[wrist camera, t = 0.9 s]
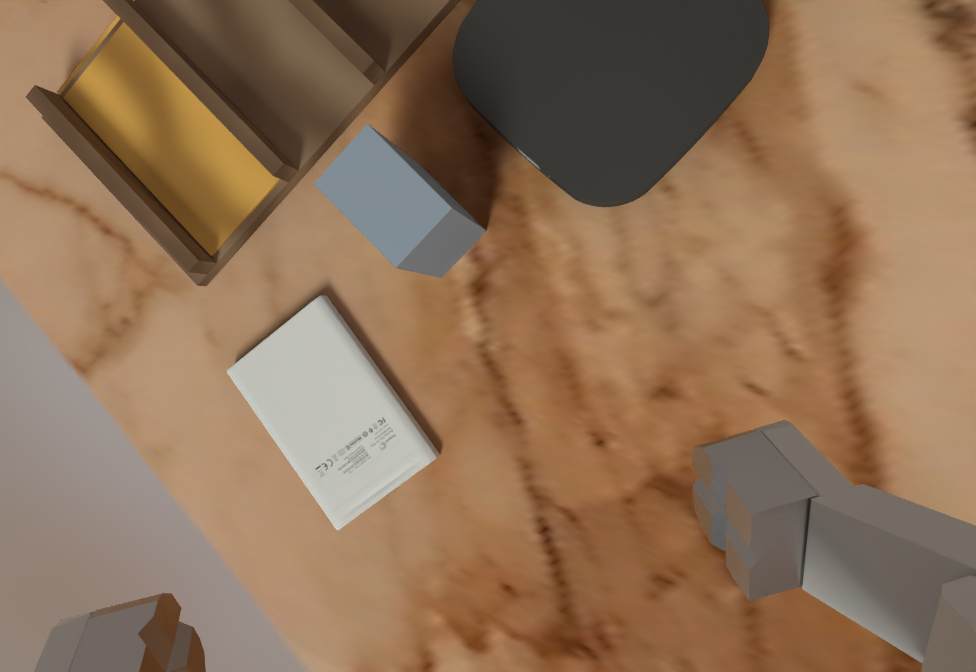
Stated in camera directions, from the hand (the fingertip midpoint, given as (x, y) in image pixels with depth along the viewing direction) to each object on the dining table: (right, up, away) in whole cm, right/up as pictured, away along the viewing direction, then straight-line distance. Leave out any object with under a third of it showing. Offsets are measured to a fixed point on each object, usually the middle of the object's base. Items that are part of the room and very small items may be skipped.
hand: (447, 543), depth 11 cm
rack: (-14, +22, +34) cm, 43 cm away
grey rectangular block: (-3, +10, +32) cm, 34 cm away
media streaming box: (+8, +19, +31) cm, 37 cm away
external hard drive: (-9, -2, +34) cm, 36 cm away
